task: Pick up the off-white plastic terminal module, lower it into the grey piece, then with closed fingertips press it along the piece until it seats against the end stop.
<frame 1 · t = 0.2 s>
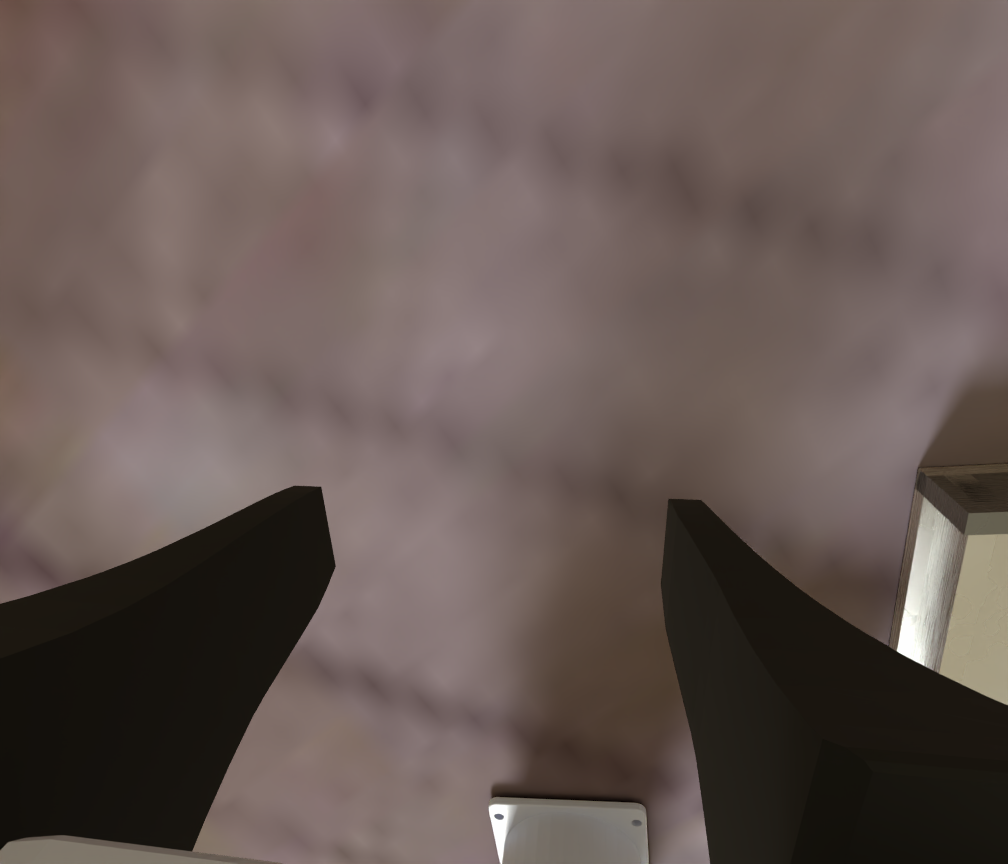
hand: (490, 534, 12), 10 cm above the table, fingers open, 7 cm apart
grey piece: (1003, 633, 23), on the table
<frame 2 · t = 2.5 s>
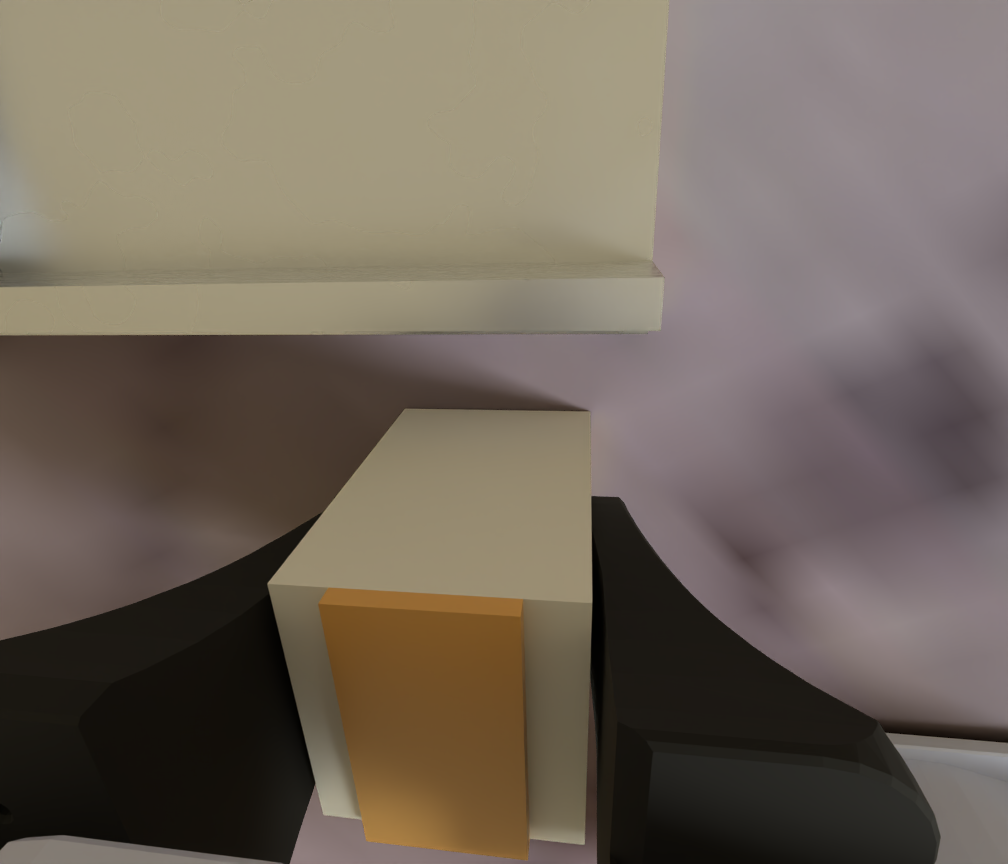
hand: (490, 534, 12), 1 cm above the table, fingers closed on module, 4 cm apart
module: (499, 499, 13), on the table, touching gripper
grey piece: (240, 112, 11), on the table
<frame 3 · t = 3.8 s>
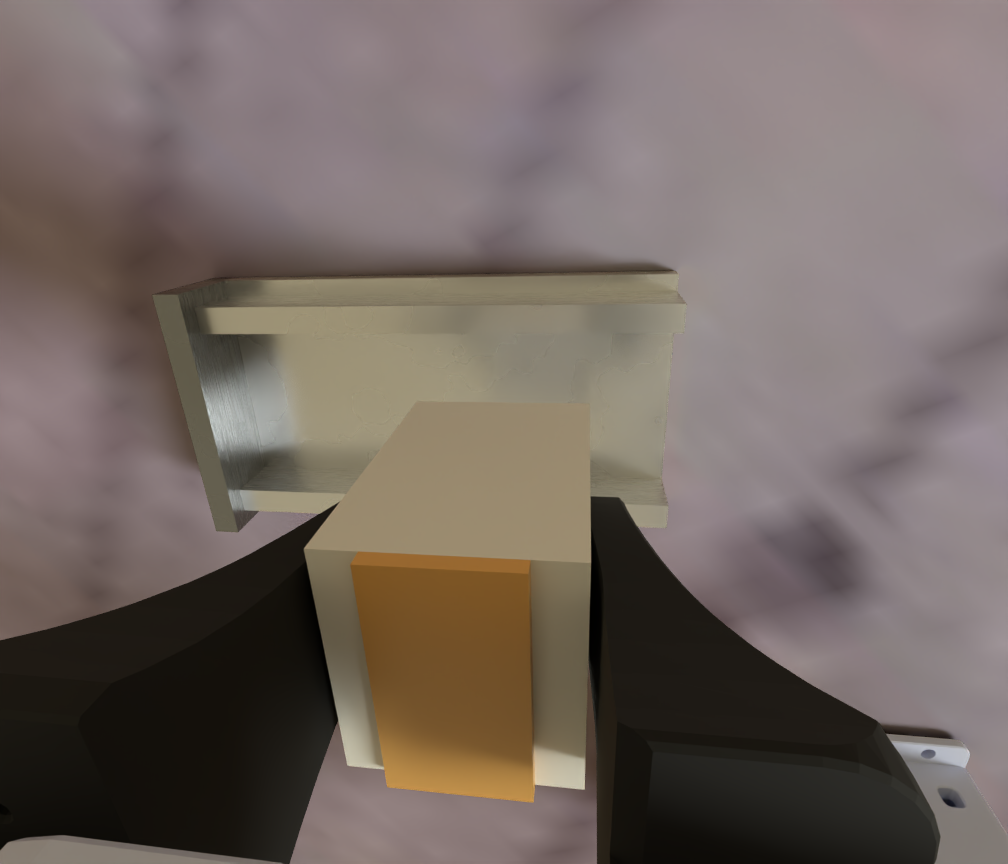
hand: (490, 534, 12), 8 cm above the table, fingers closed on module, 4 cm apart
module: (504, 486, 14), point 6 cm above the table, touching gripper
grey piece: (441, 393, 20), on the table
when the fingers open (3 cm above the table, at t = 5.3 s): module stays where it is, resting on grey piece.
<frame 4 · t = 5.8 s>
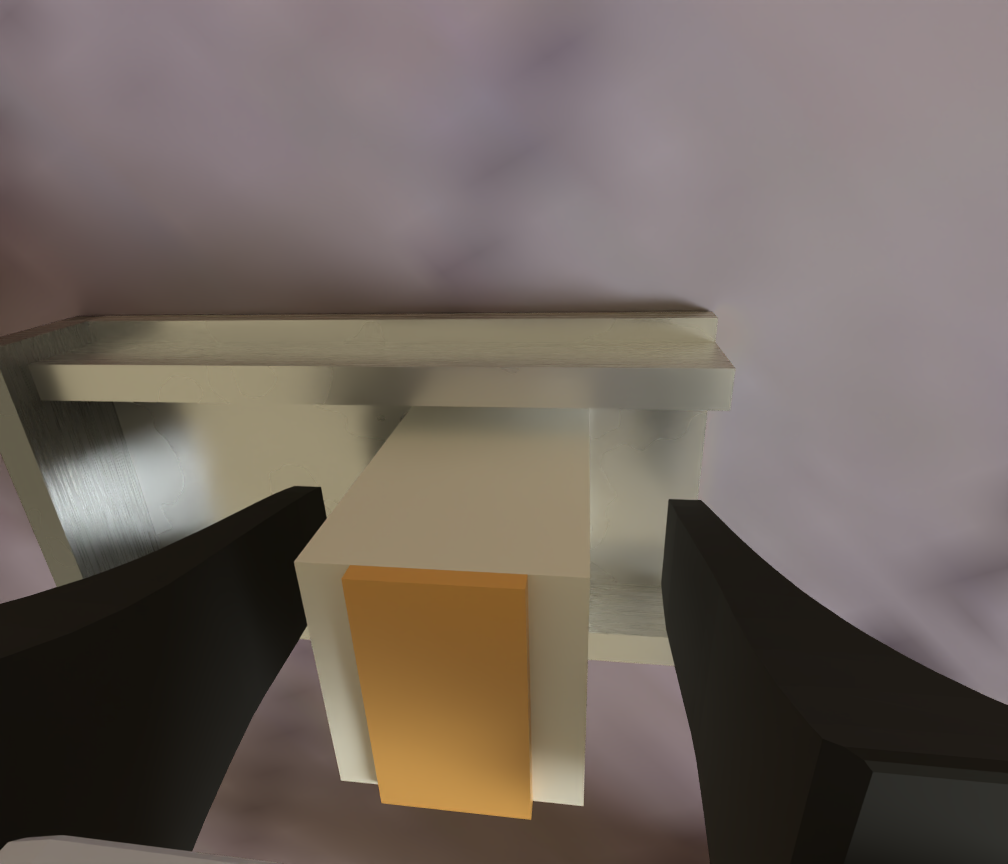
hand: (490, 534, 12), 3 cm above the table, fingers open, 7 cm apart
module: (503, 491, 14), point 1 cm above the table, touching grey piece
grey piece: (390, 470, 15), on the table
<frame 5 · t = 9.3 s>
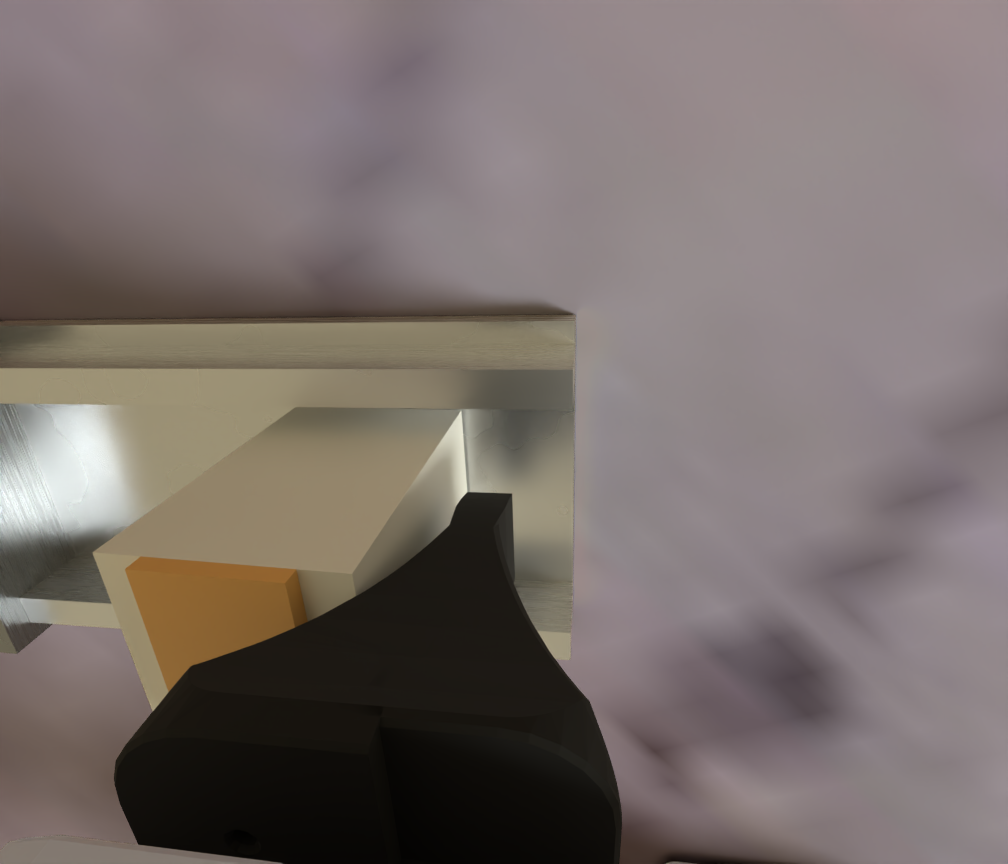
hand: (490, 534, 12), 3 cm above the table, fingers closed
module: (388, 491, 14), point 1 cm above the table, touching gripper, grey piece
grey piece: (286, 469, 15), on the table
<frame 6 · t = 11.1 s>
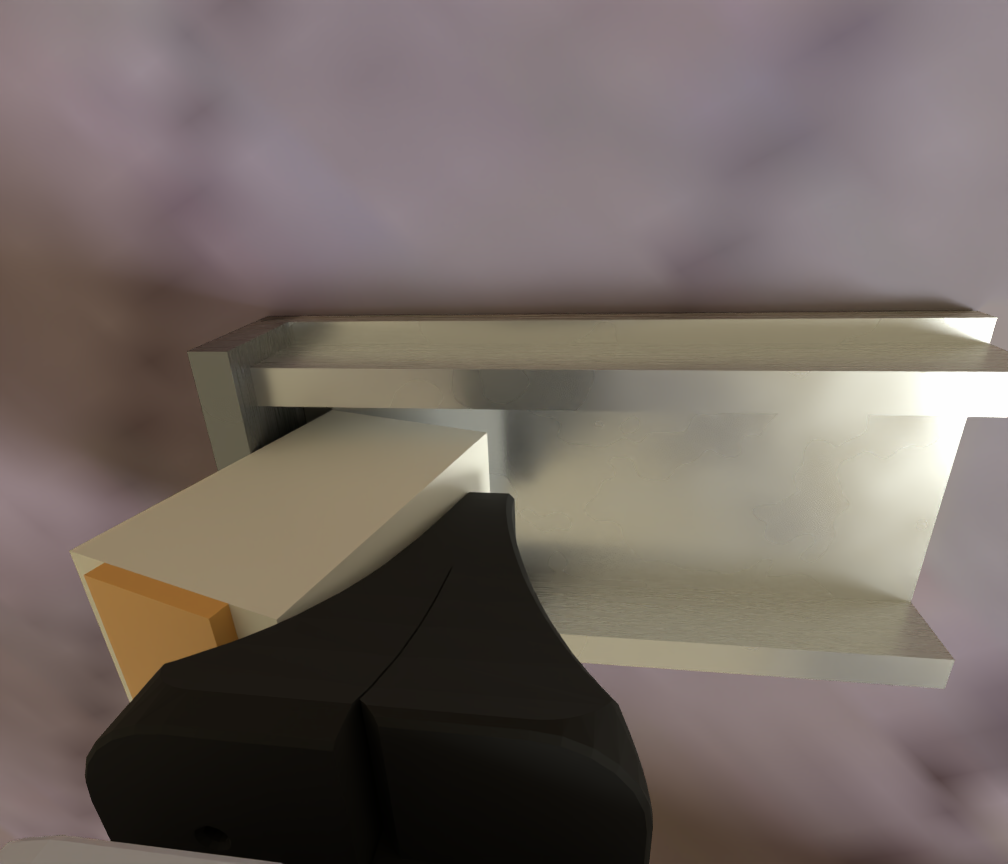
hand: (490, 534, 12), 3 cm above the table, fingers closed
module: (414, 506, 14), point 1 cm above the table, tilted 16°, touching gripper, grey piece
grey piece: (589, 478, 14), on the table
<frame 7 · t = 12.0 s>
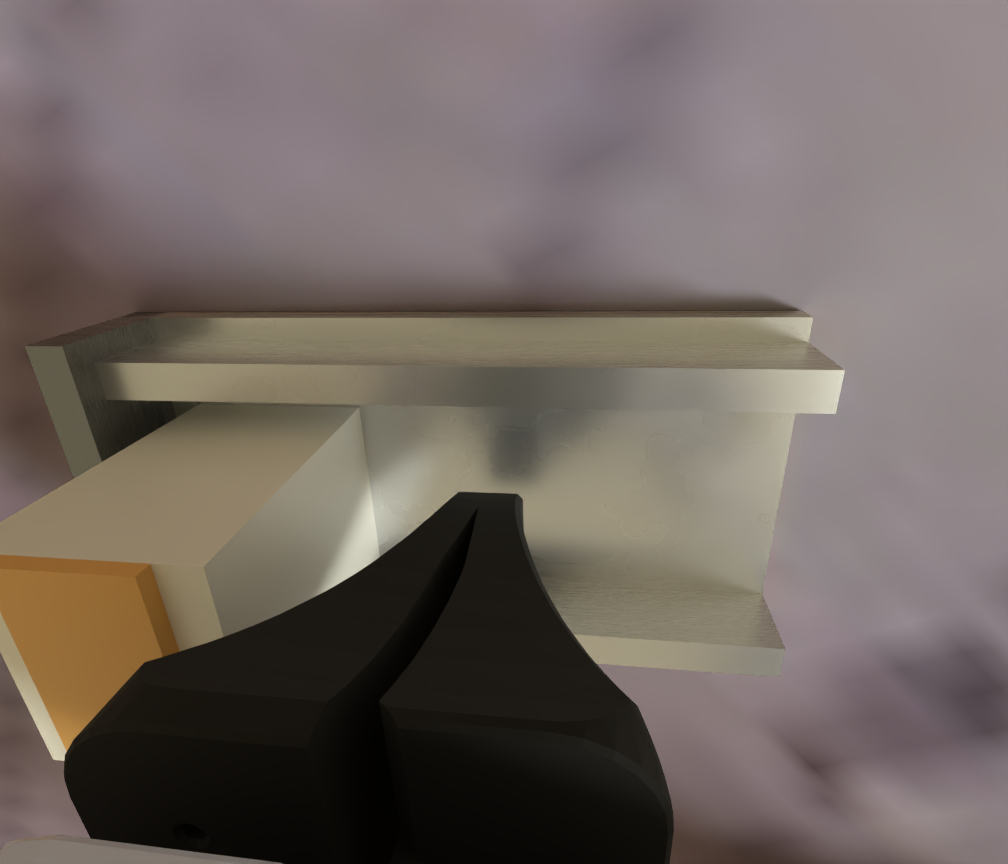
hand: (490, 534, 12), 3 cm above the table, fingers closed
module: (293, 488, 15), point 1 cm above the table, touching grey piece
grey piece: (455, 472, 14), on the table
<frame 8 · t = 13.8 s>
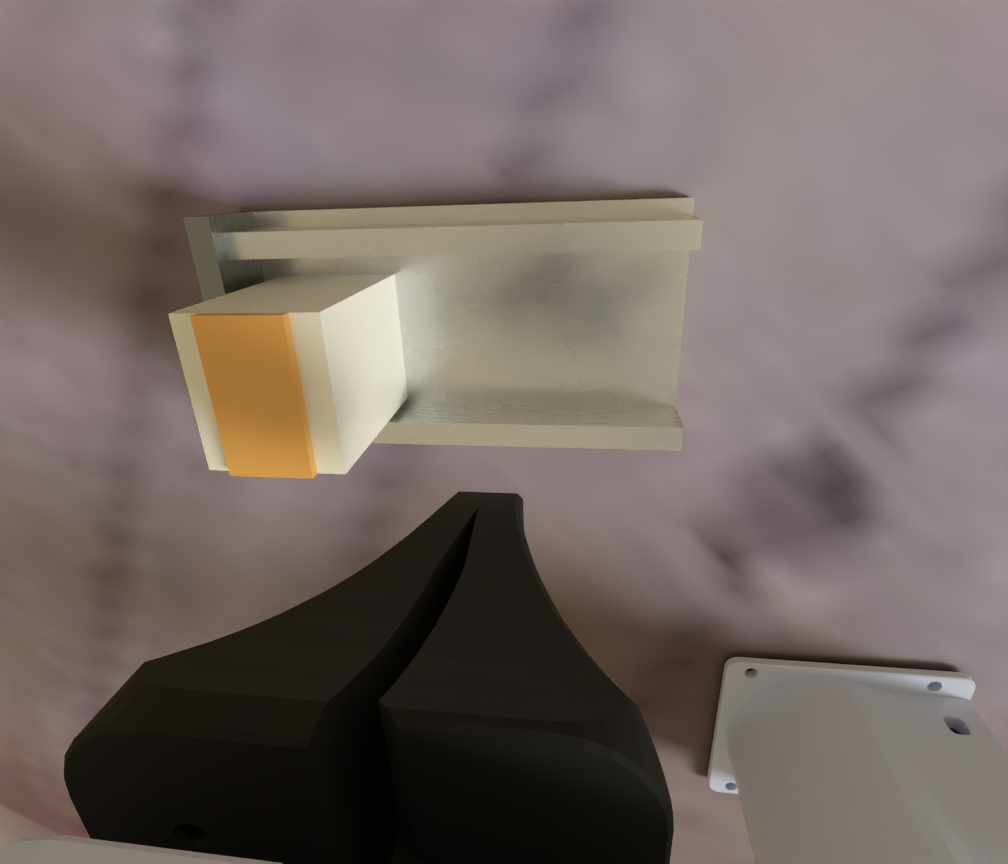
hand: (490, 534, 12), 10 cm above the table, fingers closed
module: (346, 338, 21), point 1 cm above the table, touching grey piece
grey piece: (460, 326, 21), on the table
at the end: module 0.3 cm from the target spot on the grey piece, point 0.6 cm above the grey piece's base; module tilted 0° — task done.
